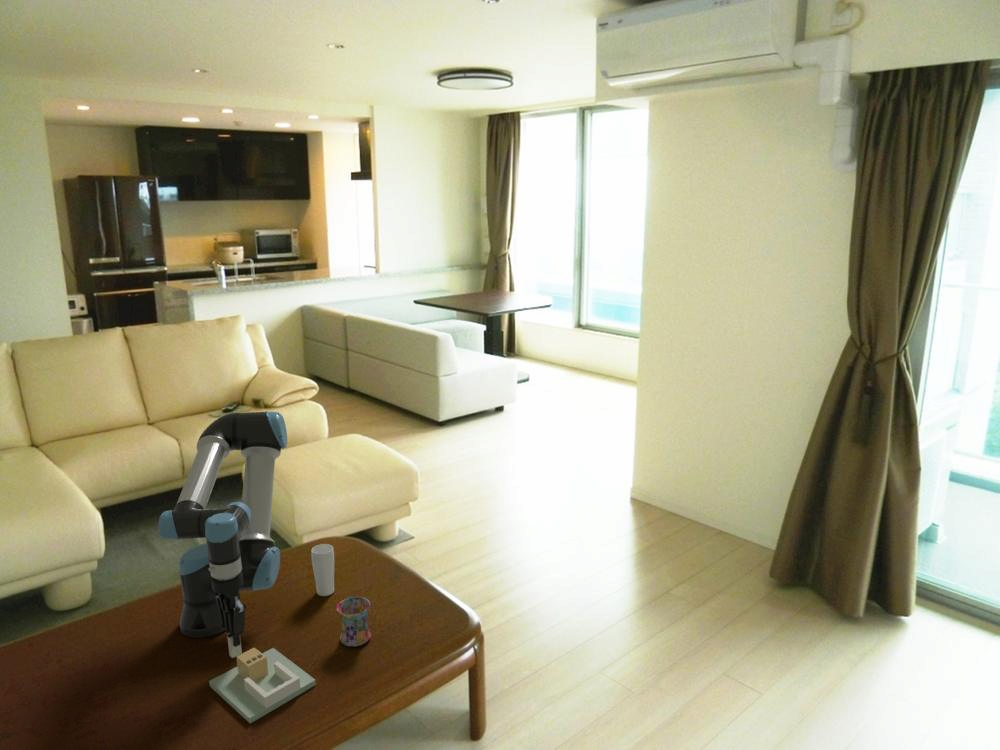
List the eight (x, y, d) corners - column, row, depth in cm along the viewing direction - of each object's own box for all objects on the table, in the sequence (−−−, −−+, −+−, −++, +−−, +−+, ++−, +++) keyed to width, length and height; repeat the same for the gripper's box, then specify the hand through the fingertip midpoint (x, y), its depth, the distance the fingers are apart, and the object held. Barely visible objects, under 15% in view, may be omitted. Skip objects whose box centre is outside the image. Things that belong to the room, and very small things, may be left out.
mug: (373, 646, 192) (371, 612, 190) (339, 652, 190) (336, 617, 187) (370, 622, 203) (368, 589, 201) (338, 627, 201) (335, 594, 199)
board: (209, 686, 177) (207, 670, 176) (273, 652, 190) (272, 638, 189) (250, 723, 164) (248, 707, 163) (315, 684, 177) (314, 669, 176)
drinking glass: (338, 586, 223) (335, 543, 219) (334, 597, 216) (331, 553, 213) (317, 586, 223) (313, 543, 219) (312, 598, 216) (308, 554, 212)
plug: (238, 673, 179) (236, 655, 178) (256, 664, 183) (254, 646, 182) (250, 683, 176) (248, 665, 174) (268, 674, 179) (266, 656, 178)
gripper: (200, 570, 181) (210, 651, 186) (225, 588, 172) (234, 671, 178) (227, 560, 186) (236, 638, 192) (253, 576, 178) (261, 657, 183)
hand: (235, 654), depth 185 cm, fingers closed
